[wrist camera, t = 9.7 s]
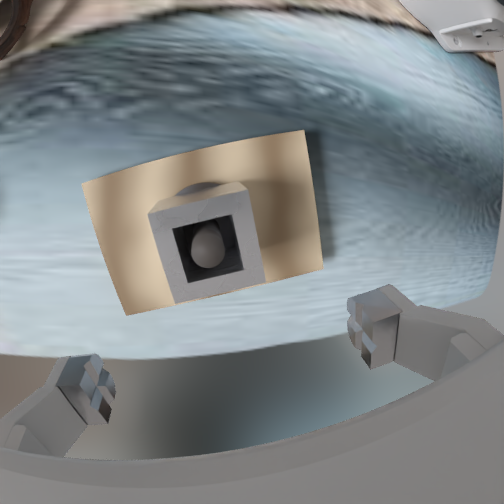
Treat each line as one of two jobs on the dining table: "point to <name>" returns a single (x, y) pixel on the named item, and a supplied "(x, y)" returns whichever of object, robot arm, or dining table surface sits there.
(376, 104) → the dining table surface
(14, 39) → the brown hollow curved piece
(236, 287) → the grey hollow square block
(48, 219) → the dining table surface
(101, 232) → the post block
